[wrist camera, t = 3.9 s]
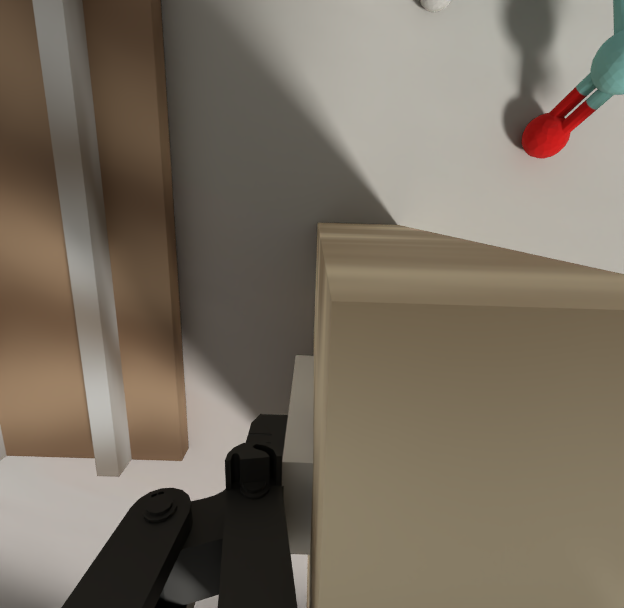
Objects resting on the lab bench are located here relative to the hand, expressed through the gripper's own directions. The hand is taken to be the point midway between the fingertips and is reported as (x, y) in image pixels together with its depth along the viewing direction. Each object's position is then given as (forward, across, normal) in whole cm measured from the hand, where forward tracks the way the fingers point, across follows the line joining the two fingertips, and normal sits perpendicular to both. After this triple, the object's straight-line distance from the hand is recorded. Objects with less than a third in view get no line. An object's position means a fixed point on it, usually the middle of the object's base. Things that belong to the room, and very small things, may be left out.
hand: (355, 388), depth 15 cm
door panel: (+3, 0, 0) cm, 3 cm away
